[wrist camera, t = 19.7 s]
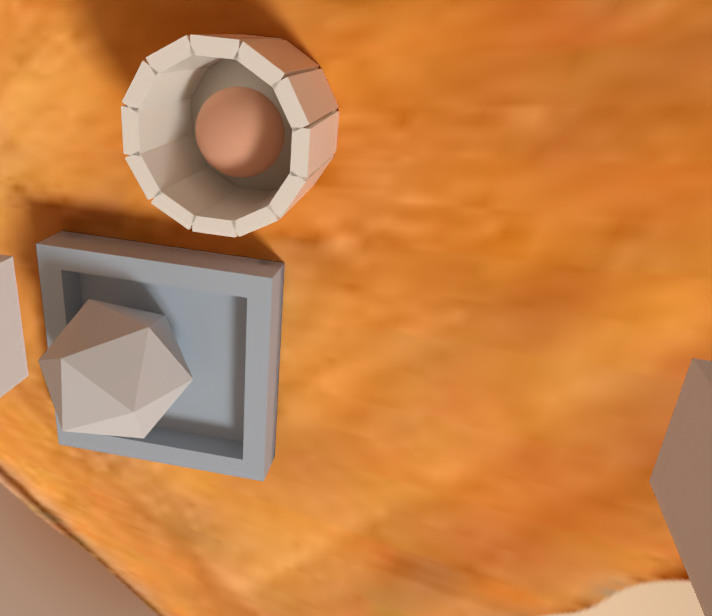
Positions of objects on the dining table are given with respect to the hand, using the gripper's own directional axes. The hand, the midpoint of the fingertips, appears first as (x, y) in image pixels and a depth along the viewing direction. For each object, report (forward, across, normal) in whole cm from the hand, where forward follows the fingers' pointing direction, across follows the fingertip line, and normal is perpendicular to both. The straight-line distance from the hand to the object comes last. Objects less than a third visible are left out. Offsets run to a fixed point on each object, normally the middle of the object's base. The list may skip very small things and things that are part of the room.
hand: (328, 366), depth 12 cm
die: (+27, -15, -16) cm, 35 cm away
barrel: (+29, -10, 0) cm, 30 cm away
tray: (+29, -16, -17) cm, 37 cm away
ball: (+28, -10, 0) cm, 29 cm away
